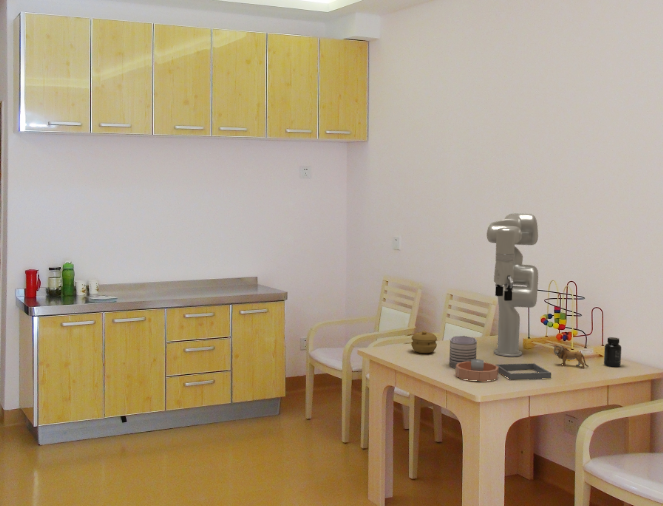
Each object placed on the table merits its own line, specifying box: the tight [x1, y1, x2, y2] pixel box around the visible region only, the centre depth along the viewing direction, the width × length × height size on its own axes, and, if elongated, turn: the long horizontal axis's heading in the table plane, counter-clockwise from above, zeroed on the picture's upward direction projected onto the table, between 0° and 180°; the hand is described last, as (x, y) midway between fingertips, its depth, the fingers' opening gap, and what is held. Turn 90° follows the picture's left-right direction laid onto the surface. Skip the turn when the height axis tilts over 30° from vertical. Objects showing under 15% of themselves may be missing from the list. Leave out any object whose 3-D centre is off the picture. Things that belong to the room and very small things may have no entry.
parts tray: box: [494, 362, 552, 380], centre depth 307 cm, size 16×18×2 cm
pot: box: [410, 330, 438, 354], centre depth 344 cm, size 12×12×10 cm
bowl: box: [455, 361, 500, 381], centre depth 303 cm, size 17×17×4 cm
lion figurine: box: [553, 344, 589, 369], centre depth 322 cm, size 15×5×9 cm, turn 71°
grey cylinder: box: [471, 358, 485, 371], centre depth 303 cm, size 5×5×6 cm
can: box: [448, 335, 478, 369], centre depth 319 cm, size 11×11×12 cm
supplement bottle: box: [603, 336, 622, 368], centre depth 324 cm, size 7×7×12 cm
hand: (503, 298), depth 312 cm, fingers open, 9 cm apart
